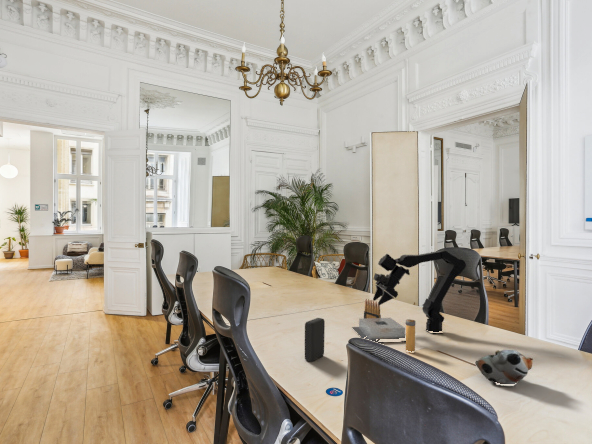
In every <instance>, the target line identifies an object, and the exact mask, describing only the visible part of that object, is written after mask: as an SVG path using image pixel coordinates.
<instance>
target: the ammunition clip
mask: <svg viewBox="0 0 592 444" xmlns="http://www.w3.org/2000/svg"><path fill="white" fill-rule="evenodd" d="M367 299H368V300H367ZM363 318H382V315H381V305H378V302H377V300H375V301H374V300H373V299H370V298H365V302H364V311H363Z"/></svg>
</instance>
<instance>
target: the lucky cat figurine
mask: <svg viewBox="0 0 592 444" xmlns="http://www.w3.org/2000/svg"><path fill="white" fill-rule="evenodd" d="M533 360H534V359H533V358H531V357H526V356H525V355H524V354H522V353H521V352H519V351H517V350H514V349H502V350H496V351H495V352H494V354H490V355H489V354H488V355H485V356H484V357H483V356H482V357H481V358H479V359H478V360H475V362H474V364H475V366H476V368H477V369H478V370H479V371H480V373H481V374H482V376H483V377H485V378H486V379H487V380H488V381H489V382H493V383H494V382H497V383H500V384H515V383H517V382H519V381H520V380H523V379H524V378H525V377H526V376H527V375H528V372H529V370H531V369H533V363H534V361H533ZM517 384H518V383H517Z"/></svg>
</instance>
